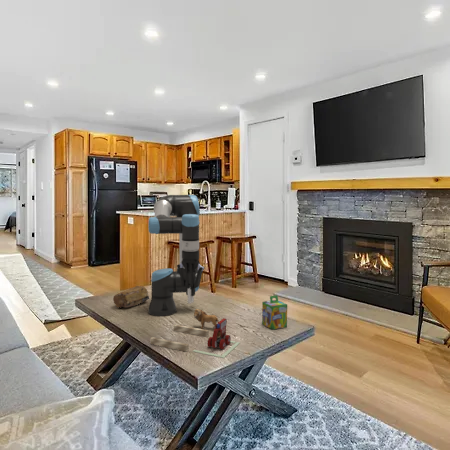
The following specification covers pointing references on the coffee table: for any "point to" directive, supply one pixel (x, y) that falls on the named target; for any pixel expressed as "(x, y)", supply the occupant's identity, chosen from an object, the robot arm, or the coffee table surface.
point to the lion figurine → (205, 318)
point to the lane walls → (176, 344)
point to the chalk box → (274, 313)
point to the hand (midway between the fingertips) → (190, 302)
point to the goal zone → (217, 354)
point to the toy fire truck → (219, 336)
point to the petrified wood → (131, 297)
